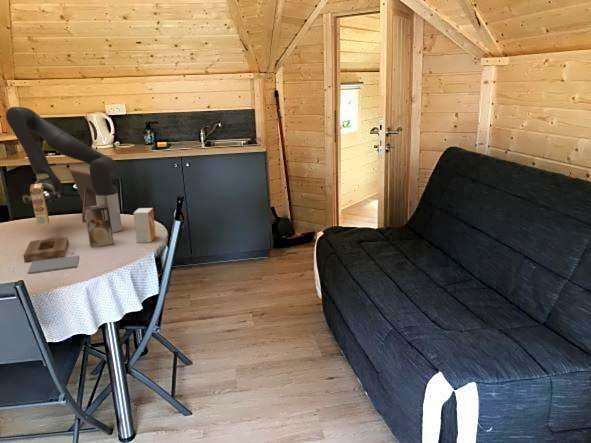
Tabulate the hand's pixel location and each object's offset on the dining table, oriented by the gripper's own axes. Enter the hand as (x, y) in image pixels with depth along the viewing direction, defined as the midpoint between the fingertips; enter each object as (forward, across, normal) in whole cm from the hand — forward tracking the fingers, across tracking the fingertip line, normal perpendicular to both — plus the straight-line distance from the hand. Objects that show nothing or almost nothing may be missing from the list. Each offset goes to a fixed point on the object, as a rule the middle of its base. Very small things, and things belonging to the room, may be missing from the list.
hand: (38, 201), depth 184 cm
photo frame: (-52, +14, +22) cm, 58 cm away
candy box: (-1, 0, +9) cm, 9 cm away
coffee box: (-4, +20, +22) cm, 30 cm away
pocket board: (-1, 0, +21) cm, 21 cm away
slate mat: (+16, +4, +21) cm, 27 cm away
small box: (-2, +38, +22) cm, 44 cm away
